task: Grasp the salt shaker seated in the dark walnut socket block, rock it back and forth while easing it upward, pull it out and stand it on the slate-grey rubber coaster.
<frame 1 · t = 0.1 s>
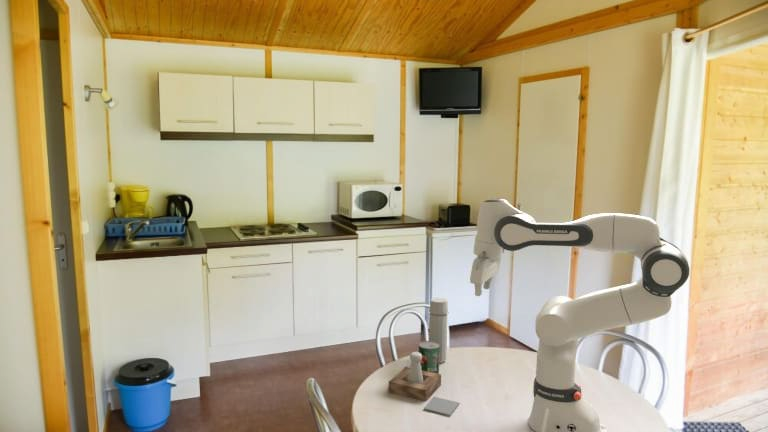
hand: (482, 291, 160), 39 cm above the table, tool pointing down, fingers open, 8 cm apart
coaster: (441, 407, 165), on the table
canned tomato: (428, 372, 191), on the table
socket block: (415, 388, 178), on the table
water bottle: (438, 360, 203), on the table
salt shaker: (415, 389, 178), resting in socket block
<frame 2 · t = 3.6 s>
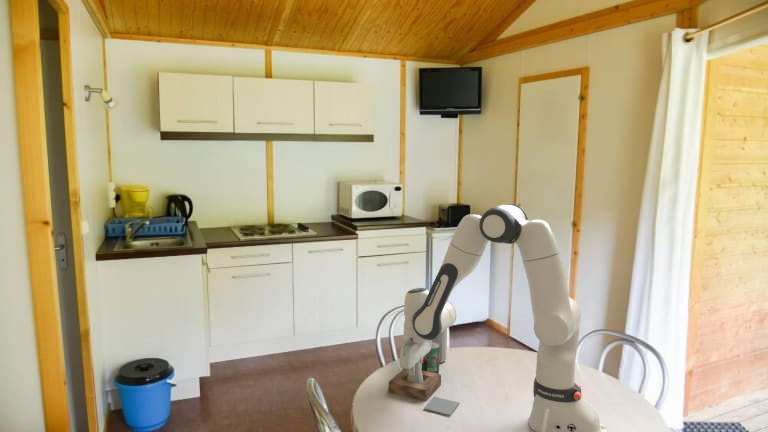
hand: (415, 372, 177), 6 cm above the table, tool pointing down, fingers closed on salt shaker, 4 cm apart
salt shaker: (415, 389, 178), resting in socket block, touching gripper
everything else where it was.
when the fingers open (8 cm above the table, at t = 11.6 s): salt shaker stays where it is, resting on coaster.
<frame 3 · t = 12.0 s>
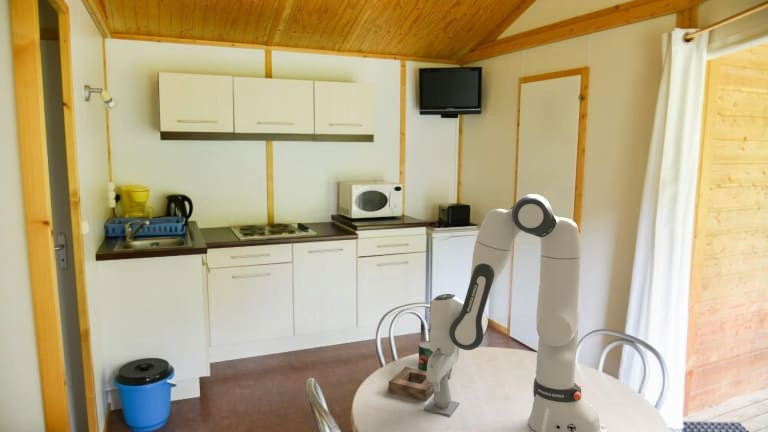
hand: (442, 384, 164), 8 cm above the table, tool pointing down, fingers open, 8 cm apart
salt shaker: (442, 405, 165), resting on coaster
everything else where it was.
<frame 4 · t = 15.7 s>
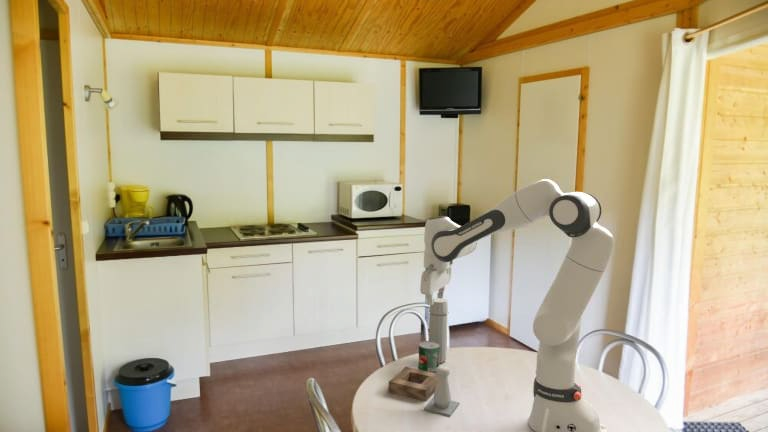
hand: (435, 301, 176), 31 cm above the table, tool pointing down, fingers open, 8 cm apart
nothing on the table moved.
at the end: salt shaker inside the target area on the coaster (0.0 cm from its centre), point 0.4 cm above the coaster's base; salt shaker tilted 0°; the gripper is holding nothing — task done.
